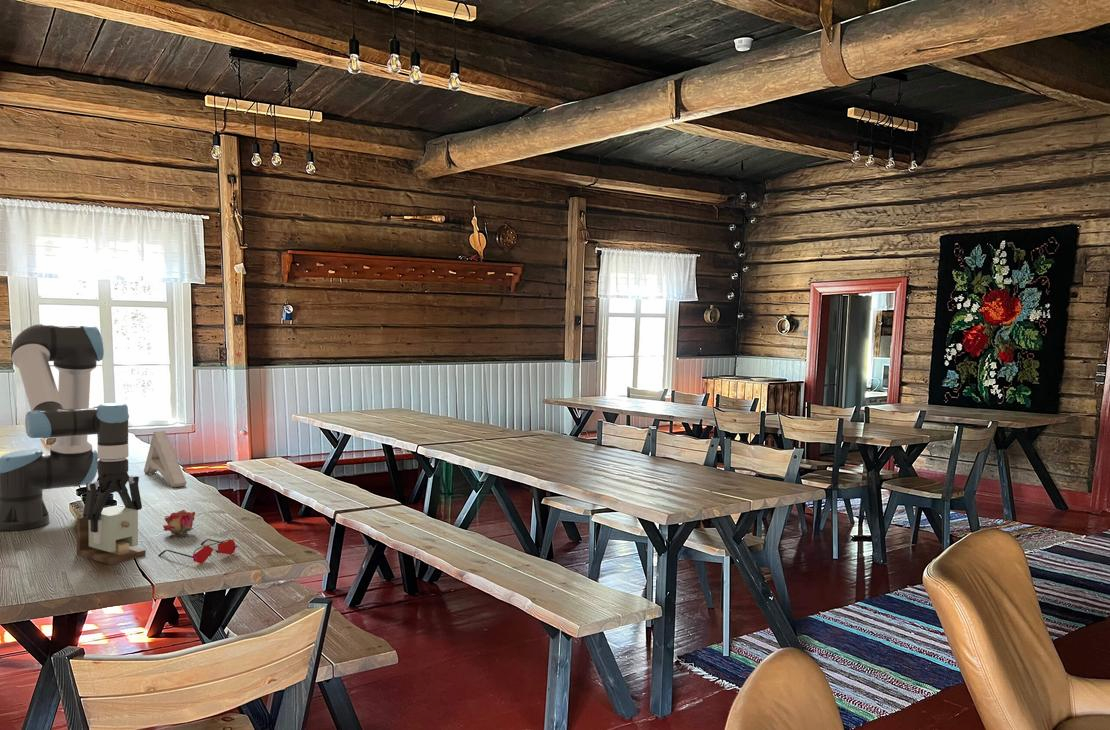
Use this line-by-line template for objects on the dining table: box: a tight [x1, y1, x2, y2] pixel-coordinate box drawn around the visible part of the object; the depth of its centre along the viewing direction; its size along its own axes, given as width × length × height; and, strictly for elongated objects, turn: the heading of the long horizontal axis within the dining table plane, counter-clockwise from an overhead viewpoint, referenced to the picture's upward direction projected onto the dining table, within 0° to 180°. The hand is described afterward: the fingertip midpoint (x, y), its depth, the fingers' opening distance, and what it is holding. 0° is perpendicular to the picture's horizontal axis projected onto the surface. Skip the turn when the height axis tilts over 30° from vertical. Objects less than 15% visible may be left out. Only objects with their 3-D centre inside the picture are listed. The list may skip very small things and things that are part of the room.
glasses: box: [157, 538, 238, 564], centre depth 221 cm, size 14×16×5 cm
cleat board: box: [76, 515, 146, 565], centre depth 218 cm, size 16×10×10 cm, turn 60°
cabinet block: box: [89, 505, 139, 552], centre depth 217 cm, size 11×8×10 cm
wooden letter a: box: [143, 430, 188, 488], centre depth 316 cm, size 22×4×30 cm
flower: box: [162, 509, 199, 538], centre depth 239 cm, size 10×9×8 cm
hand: (113, 539), depth 218 cm, fingers closed on cabinet block, 8 cm apart
